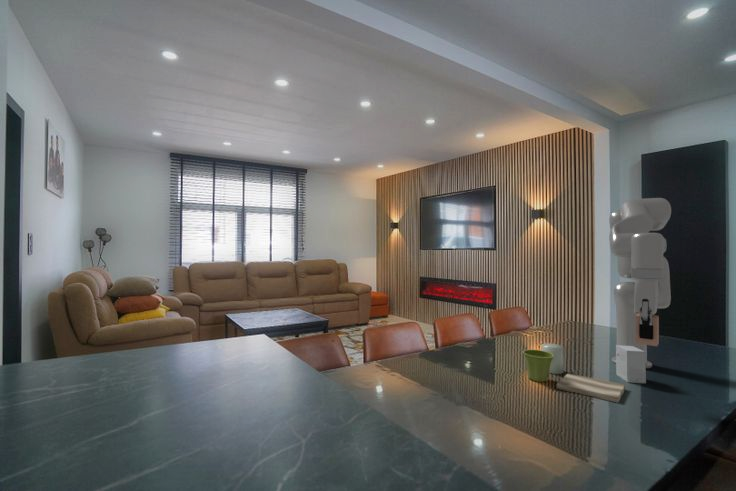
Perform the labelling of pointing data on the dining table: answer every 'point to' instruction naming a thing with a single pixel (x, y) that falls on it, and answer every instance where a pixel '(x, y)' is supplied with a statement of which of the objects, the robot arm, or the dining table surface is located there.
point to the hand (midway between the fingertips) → (647, 336)
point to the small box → (630, 364)
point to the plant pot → (538, 364)
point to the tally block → (655, 332)
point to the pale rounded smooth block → (555, 357)
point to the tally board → (592, 387)
